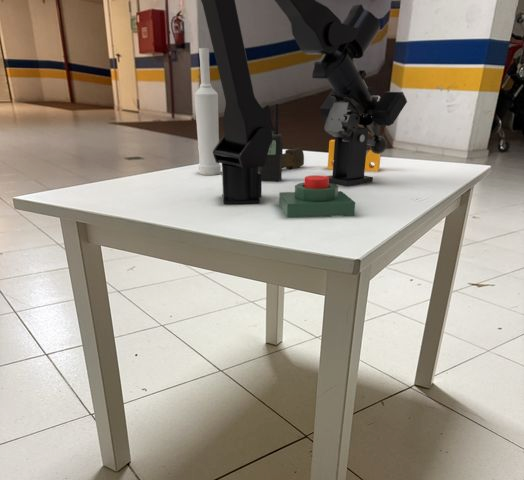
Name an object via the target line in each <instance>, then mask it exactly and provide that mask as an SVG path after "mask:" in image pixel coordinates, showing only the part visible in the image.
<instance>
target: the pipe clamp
mask: <svg viewBox="0 0 524 480" xmlns="http://www.w3.org/2000/svg"><path fill="white" fill-rule="evenodd" d="M334 146H335V139H330V140H329V142H328V156H327V170H333V161H334ZM372 163H373V165H372ZM380 165H381V154H375V153H373V152H372V151H371V149H370V148H369V151H368V152H366V161H365V171H364V172H366V171H367V172H379V170H380Z"/></svg>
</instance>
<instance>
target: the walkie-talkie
mask: <svg viewBox="0 0 524 480" xmlns="http://www.w3.org/2000/svg"><path fill="white" fill-rule="evenodd" d="M279 107H280V105H279V103H274V119H273V121H274V124H273V126H274V128H275V130H273V142H272V144H271V145H270V147H269V151H268V155H267V158H266V162H265V166H262V167H259V172H260V173H261V175H262V182H270V183H272V182H273V183H278V182H281V181H282V173H283V172H282V171H283V168H282V154H284V153H283V152H284V151H283V150H284V148H283V147H284V145H283V144H284V143H283V135H282V133H279Z"/></svg>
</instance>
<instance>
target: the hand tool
mask: <svg viewBox="0 0 524 480" xmlns="http://www.w3.org/2000/svg"><path fill="white" fill-rule="evenodd" d="M284 152H285V153H282V169H284V168H285V169H286V170H296V169H298V168H301V167H303V166H304V164H305V154H304V149H303V148H302V147H294V148H288V149H286V150H285V151H284ZM258 172H259V167H258Z"/></svg>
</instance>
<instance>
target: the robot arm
mask: <svg viewBox="0 0 524 480" xmlns="http://www.w3.org/2000/svg"><path fill="white" fill-rule="evenodd" d="M200 2H201V5H202V8H203V11H204V16H205V20H206V24H207V25H206V26H207V28H208V32H209V33H208V34H209V37H210V41H211V45H212V50H213V54H214V58H215V62H216V63H215V64H216V67H217V71H218V75H219V79H220V83H221V88H222V92H223V96H224V100H225V107H224V112H223V117H222V127H223V136H222V137H221V138H220V139H219V143H218V144H217V146H216V147H215V148H214V150H213V156H214V159H215V162H216V163H219V164H221V179H222V180H221V181H222V183H221V185H222V193H221V199H222V204H224V205H230V204H231V205H233V204H236V205H237V204H260V203H261V198H262V194H263V193H262V192H263V191H262V185H263V184H262V182H263V181H262V175H261V173H260V172H258V167H262V166H265V162H266V158H267V155H268V151H269V147H270V145H271V144H272V142H273V134H274V132H273V131H274V130H275V128H274V124H273V121H272V110H271V107H270V105H269V104H260V102H259V101H258V99H257V98H256V96H255V92H254V88H253V82H252V77H251V72H250V66H249V63H248V58H247V53H246V47H245V43H244V38H243V37H244V36H243V33H242V28H241V23H240V18H239V13H238V9H237V4H236V0H200ZM274 2H275V3H276V4H277V5H278V7H279V8H280V9H281V12H283V13H284V15H285V16H286V18H287V19H288V21H289V22H290V27H291V34H292V37H293V38H294V41H295V42H296V44H297V46H298V47H299V49H300V51H301V52H302V53H304V55H306V56H307V55H309V56H310V55H311V56H313V55H322V57H321V58H320V60H319V61H315V62H314V63H313V65H314V66H313V70H312V76H311V77H312V79H313V80H315V79H316V80H326V81H327V83H328V84H329V86H330V88H331V91H330V92H329V94H328V95H327V97H326V99H325V100H324V101H323V103H322V105H321V106H320V108H319V115H320V117H321V119H322V121H324V122H325V123H324V131H325V132H326V133H327V134H329V135H331V136H332V137H334V138H335V137H340V138H349V137H350V136H351V134H352V132H355V131H356V130H357V128H364V127H366V128H369V129H368V135H370V136H371V137H372V138H378V136H381V126H382V127H383V126H385V127H390V126H392V125H393V124H394V123H395V121H396V120H397V119H398V118H399V116H400V114H401V112H402V111H403V109H404V107H405V106H406V105H407V103H408V100H407V98H406V96H405V93H404V92H403V91H384V92H383V93H382V95H381V96H380V95H375V93H376V90H375V88H374V87H373V86H368V85H367V83H366V81H365V80H364V79H365V78H366V76H367V73H366V70H361V69H360V70H359V68H358V66H357V64H356V62H355V60H354V59H361V58H362V57H364V55H365V54H366V52H367V50H368V49H369V48H370V46H371V45H372V43H373V41H374V40H375V38H376V37H377V35H378V34H379V32H380V30H381V23H380V20H379V18H378V17H376V16H375V15H374V14H373V13H372V12H371V11H369V10H367V9H365V8H364V7H363V4H354V5H352V7H351V8H350V10H349V11H348V13H347V16H346V17H345V18H344V20H343V22H342V21H341V18H340V17H338V15H336V13H335V12H334V11H333V10H332V9H331V8H330V7H329V6H327V5H325V4H323V3H322V2H319V1H318V0H274Z"/></svg>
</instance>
